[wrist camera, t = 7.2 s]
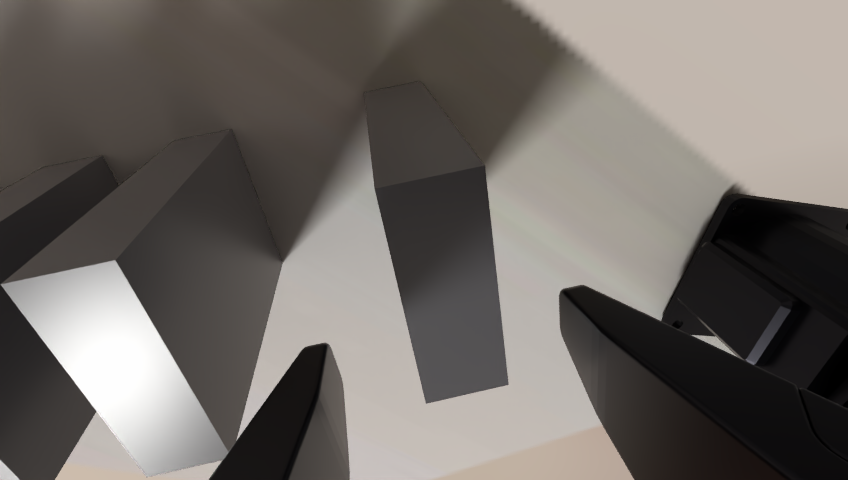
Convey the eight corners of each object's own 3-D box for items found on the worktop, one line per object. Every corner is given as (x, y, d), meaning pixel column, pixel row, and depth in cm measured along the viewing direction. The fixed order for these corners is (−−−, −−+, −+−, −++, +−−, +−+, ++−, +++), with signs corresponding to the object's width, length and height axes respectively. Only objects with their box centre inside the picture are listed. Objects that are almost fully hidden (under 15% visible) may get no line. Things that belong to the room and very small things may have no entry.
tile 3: (102, 155, 14) (-143, 314, 7) (172, 286, 17) (41, 501, 10) (43, 166, 14) (-263, 340, 7) (122, 297, 16) (-47, 521, 10)
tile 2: (231, 129, 14) (115, 260, 7) (282, 263, 17) (231, 458, 10) (173, 140, 14) (0, 284, 7) (233, 273, 17) (146, 477, 10)
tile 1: (420, 81, 14) (484, 165, 7) (443, 221, 17) (508, 384, 10) (364, 92, 14) (374, 188, 7) (395, 231, 17) (426, 403, 10)
